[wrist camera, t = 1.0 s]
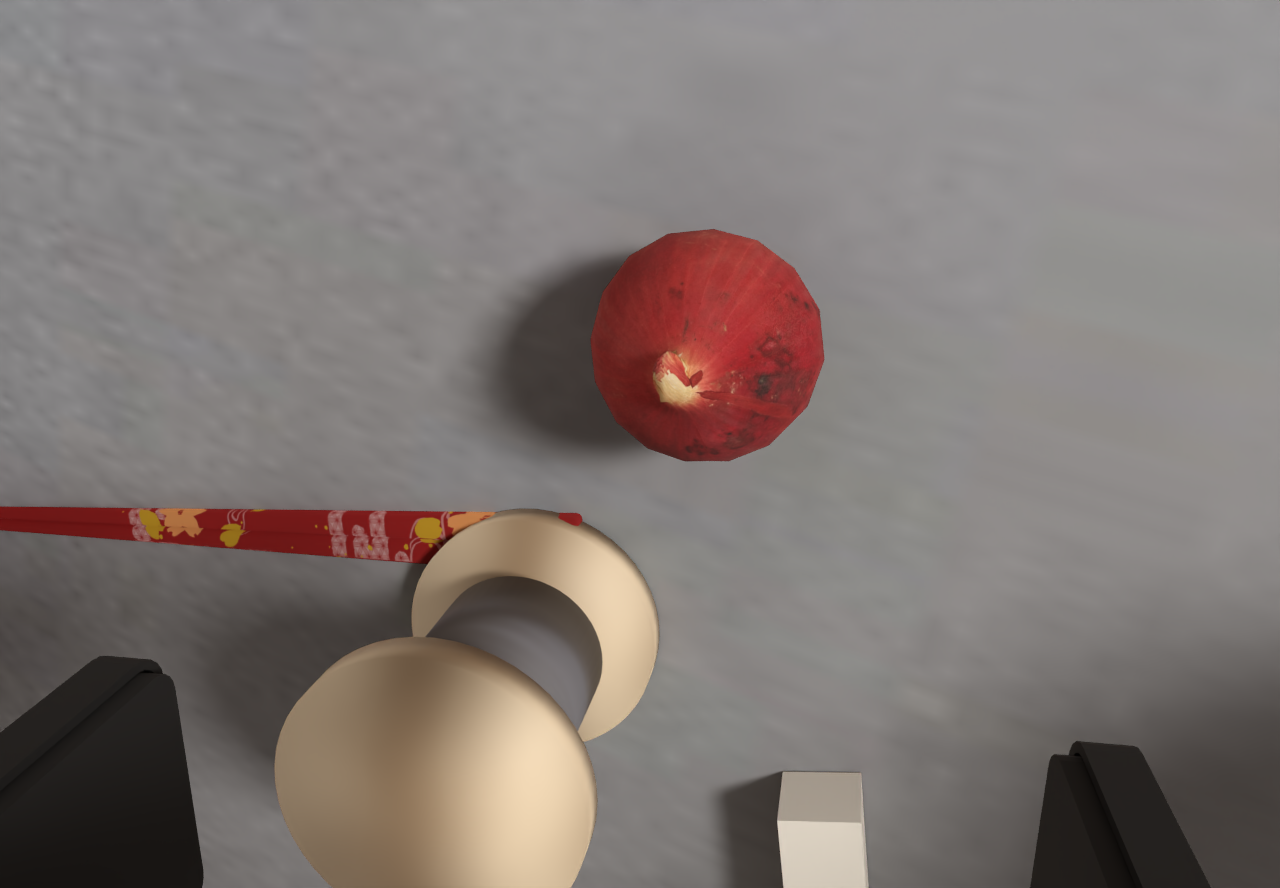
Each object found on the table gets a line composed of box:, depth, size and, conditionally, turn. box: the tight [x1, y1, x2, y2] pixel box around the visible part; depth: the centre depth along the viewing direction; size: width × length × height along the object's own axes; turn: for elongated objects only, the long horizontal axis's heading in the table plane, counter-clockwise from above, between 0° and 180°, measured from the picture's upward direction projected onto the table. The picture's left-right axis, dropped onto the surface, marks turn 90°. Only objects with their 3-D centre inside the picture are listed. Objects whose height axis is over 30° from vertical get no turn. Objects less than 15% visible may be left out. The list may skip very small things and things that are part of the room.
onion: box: [591, 229, 824, 461], centre depth 26 cm, size 6×6×8 cm
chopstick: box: [0, 507, 582, 564], centre depth 35 cm, size 2×24×1 cm, turn 93°
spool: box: [274, 509, 659, 888], centre depth 30 cm, size 8×8×10 cm
